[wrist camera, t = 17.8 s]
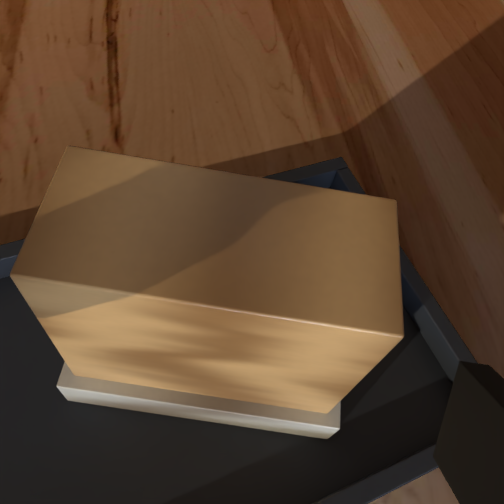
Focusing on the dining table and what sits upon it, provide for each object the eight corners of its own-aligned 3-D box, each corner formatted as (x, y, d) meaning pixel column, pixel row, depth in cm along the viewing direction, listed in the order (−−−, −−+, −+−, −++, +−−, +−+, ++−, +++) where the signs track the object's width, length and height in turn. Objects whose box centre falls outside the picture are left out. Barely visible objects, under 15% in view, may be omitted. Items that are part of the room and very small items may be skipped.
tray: (-223, 335, 21) (-265, 313, 19) (331, 182, 29) (341, 156, 27) (-249, 814, 14) (-320, 857, 12) (490, 436, 22) (519, 425, 20)
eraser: (66, 400, 20) (-23, 290, 12) (104, 284, 23) (55, 129, 15) (327, 439, 20) (426, 359, 12) (331, 320, 23) (413, 188, 15)
